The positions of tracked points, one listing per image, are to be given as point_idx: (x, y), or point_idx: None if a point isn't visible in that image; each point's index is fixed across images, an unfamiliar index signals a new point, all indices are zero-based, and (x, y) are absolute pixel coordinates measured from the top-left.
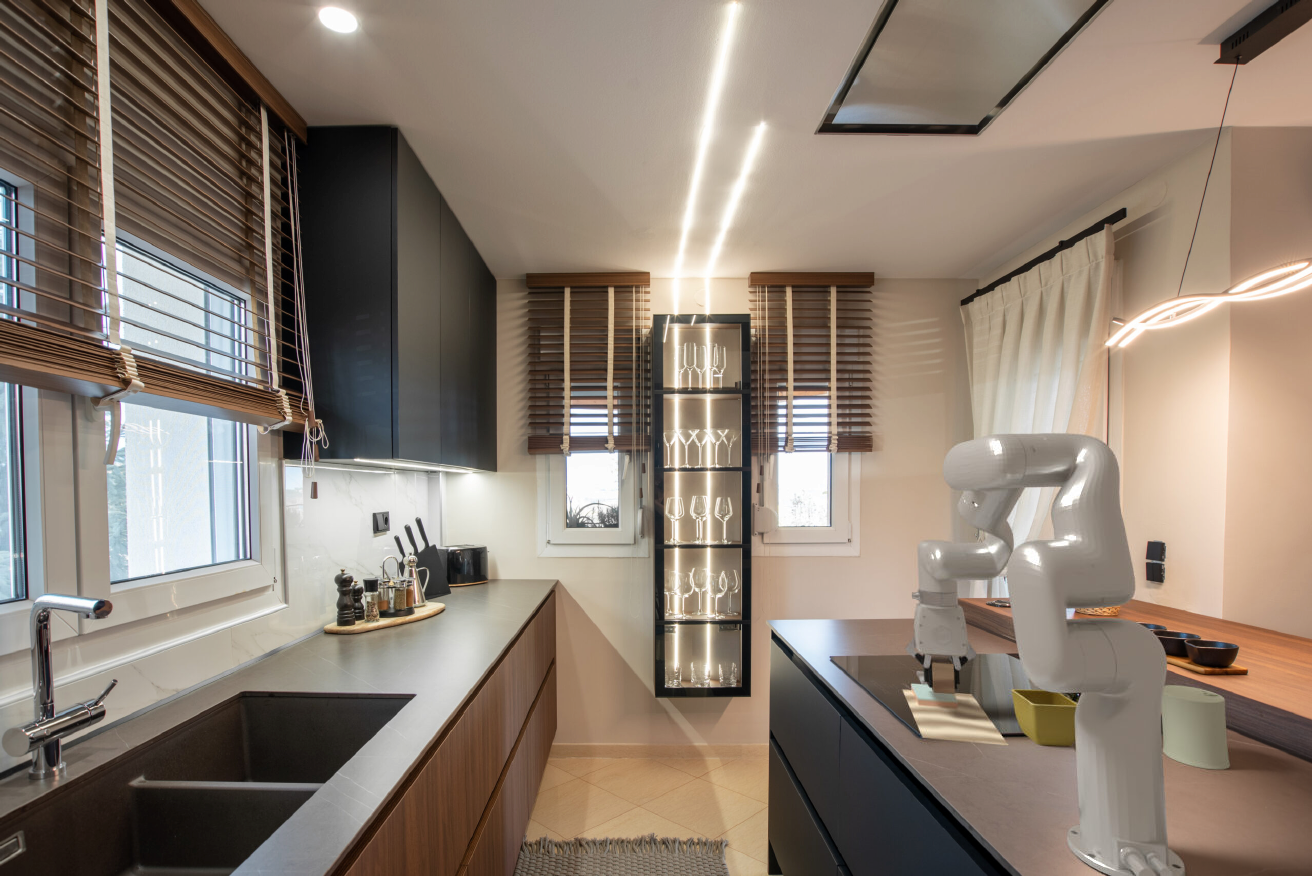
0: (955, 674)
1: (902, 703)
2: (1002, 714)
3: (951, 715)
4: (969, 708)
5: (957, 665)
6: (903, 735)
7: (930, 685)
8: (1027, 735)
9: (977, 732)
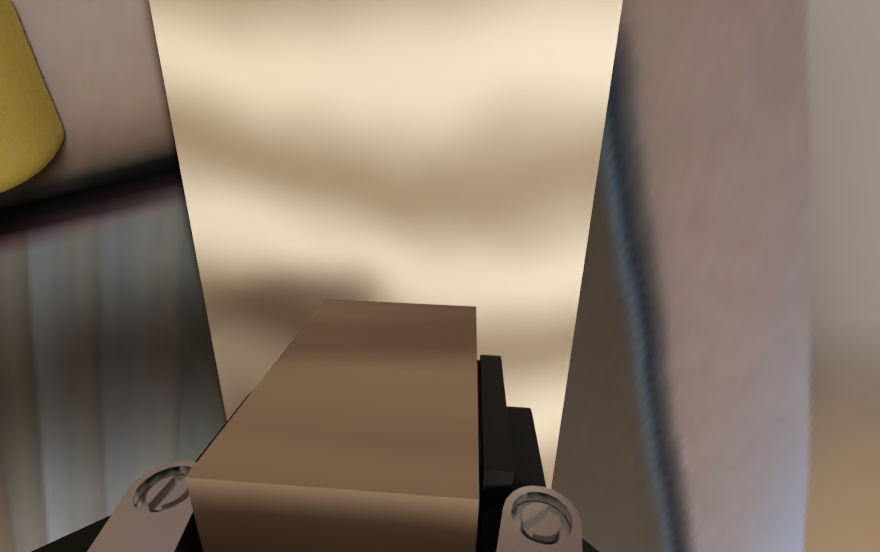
0: None
1: (562, 471)
2: (159, 410)
3: None
4: None
5: (159, 512)
6: (699, 44)
7: (495, 360)
8: (33, 89)
9: (282, 85)
